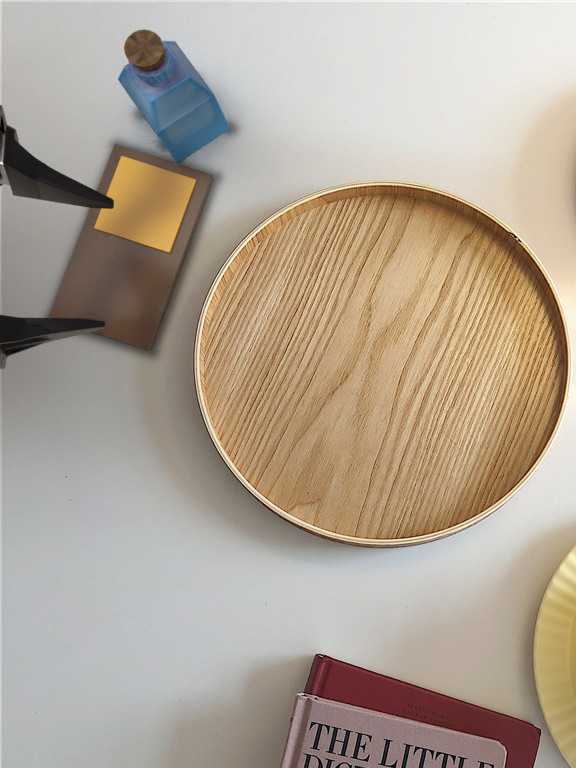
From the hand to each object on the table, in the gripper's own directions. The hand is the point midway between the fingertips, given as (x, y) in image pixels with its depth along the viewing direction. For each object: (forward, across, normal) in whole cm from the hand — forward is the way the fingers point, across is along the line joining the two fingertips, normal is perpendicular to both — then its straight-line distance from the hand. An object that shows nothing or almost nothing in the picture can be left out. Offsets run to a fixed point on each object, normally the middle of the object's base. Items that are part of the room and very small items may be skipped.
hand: (109, 264), depth 51 cm
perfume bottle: (+6, +19, +14) cm, 24 cm away
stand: (+2, +6, +15) cm, 17 cm away
